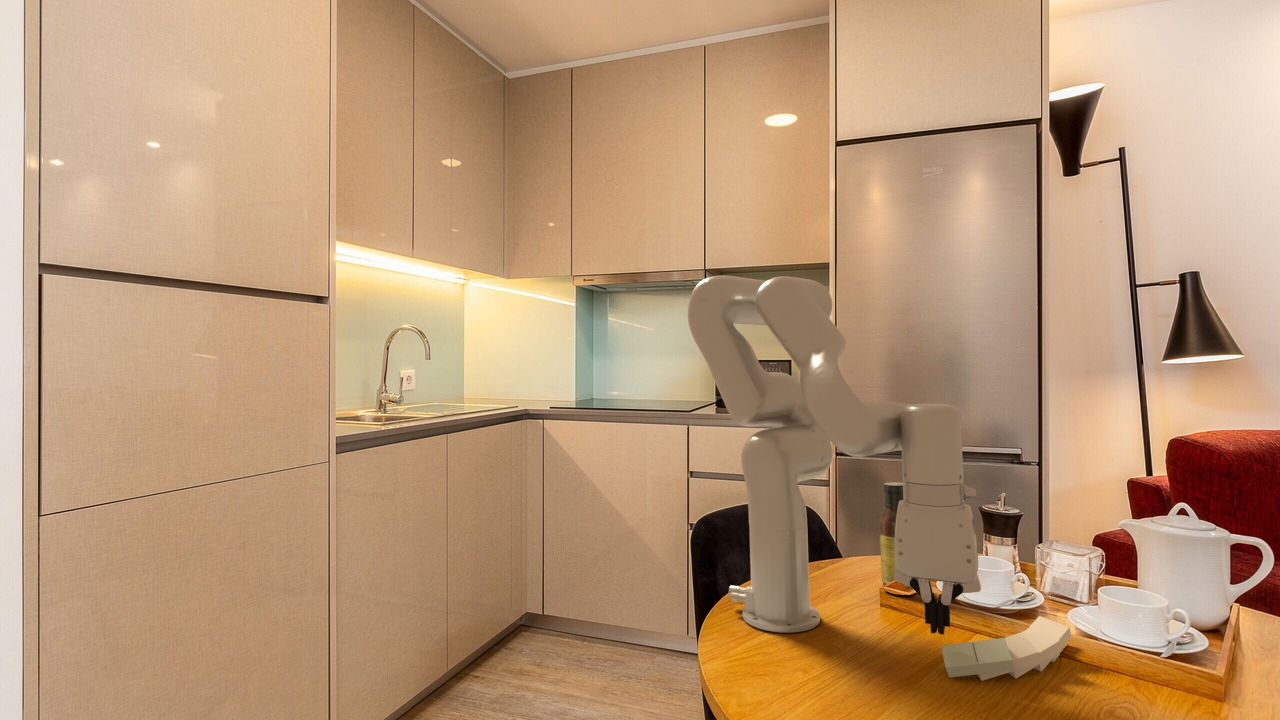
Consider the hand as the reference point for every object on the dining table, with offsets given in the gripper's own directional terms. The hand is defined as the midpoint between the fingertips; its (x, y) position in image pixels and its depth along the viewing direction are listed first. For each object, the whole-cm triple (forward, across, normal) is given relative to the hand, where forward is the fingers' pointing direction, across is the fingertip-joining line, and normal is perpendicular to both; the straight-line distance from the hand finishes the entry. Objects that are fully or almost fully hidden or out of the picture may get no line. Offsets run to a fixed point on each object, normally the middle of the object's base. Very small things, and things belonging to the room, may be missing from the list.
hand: (937, 630), depth 85 cm
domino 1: (+4, -4, -1) cm, 6 cm away
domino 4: (+5, -12, -10) cm, 16 cm away
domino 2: (+5, -8, -3) cm, 9 cm away
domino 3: (+5, -10, -7) cm, 13 cm away
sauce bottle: (+6, +8, -31) cm, 33 cm away
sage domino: (+4, -1, 0) cm, 4 cm away
